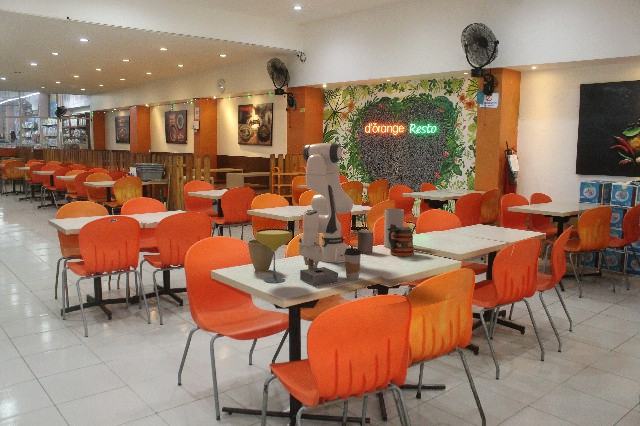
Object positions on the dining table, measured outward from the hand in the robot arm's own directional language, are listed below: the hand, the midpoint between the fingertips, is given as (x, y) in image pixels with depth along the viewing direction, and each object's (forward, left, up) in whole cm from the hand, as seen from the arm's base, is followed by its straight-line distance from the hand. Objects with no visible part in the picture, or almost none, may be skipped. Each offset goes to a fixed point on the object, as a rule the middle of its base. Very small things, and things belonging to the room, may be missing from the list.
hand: (310, 266), depth 282 cm
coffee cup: (-14, +19, -4) cm, 24 cm away
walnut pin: (0, 0, -4) cm, 4 cm away
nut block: (+4, +16, -4) cm, 17 cm away
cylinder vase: (-83, -38, -4) cm, 91 cm away
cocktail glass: (+23, +4, -4) cm, 24 cm away
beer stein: (-71, -16, -4) cm, 73 cm away
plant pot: (+20, -19, -4) cm, 28 cm away
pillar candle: (-56, -32, -4) cm, 65 cm away
